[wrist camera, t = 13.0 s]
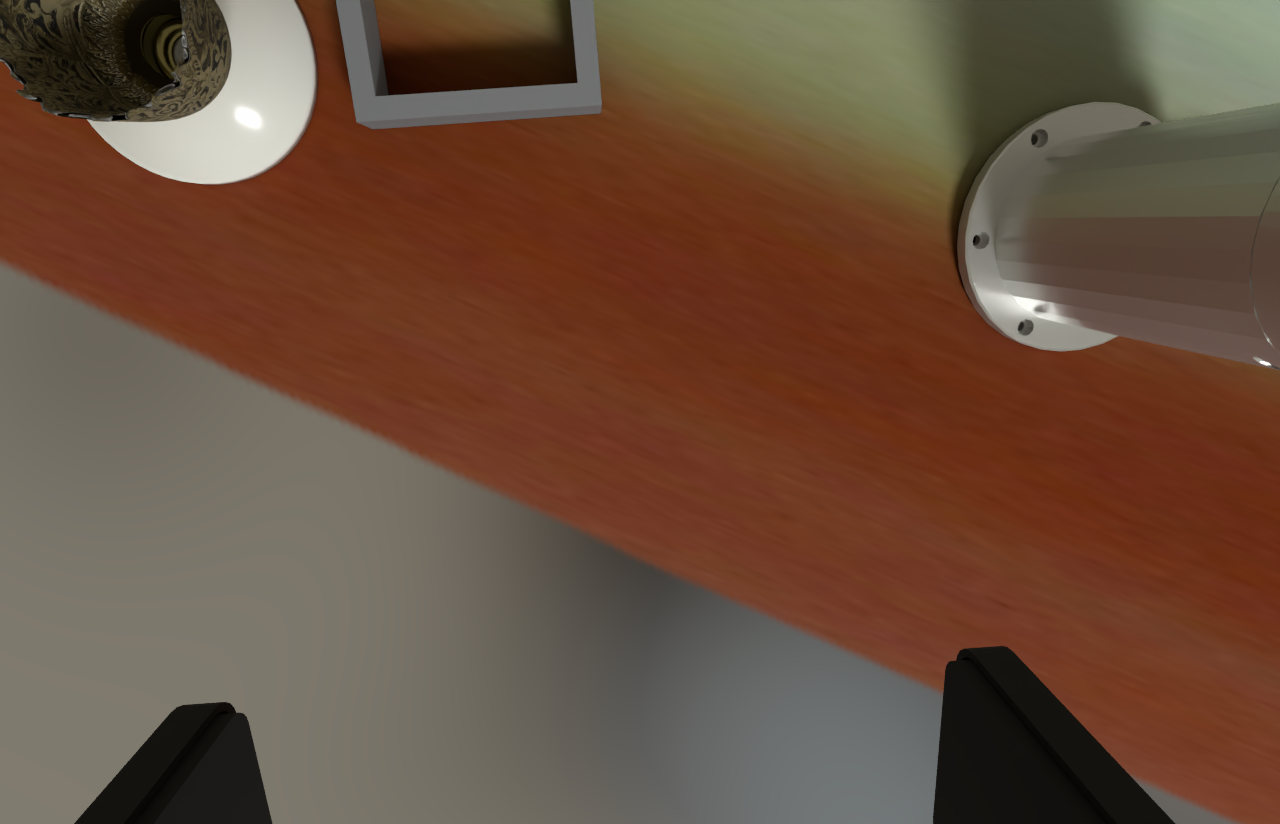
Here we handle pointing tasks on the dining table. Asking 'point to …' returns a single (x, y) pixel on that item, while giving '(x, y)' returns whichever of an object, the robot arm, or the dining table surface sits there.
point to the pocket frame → (469, 104)
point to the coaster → (236, 103)
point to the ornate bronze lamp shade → (116, 56)
